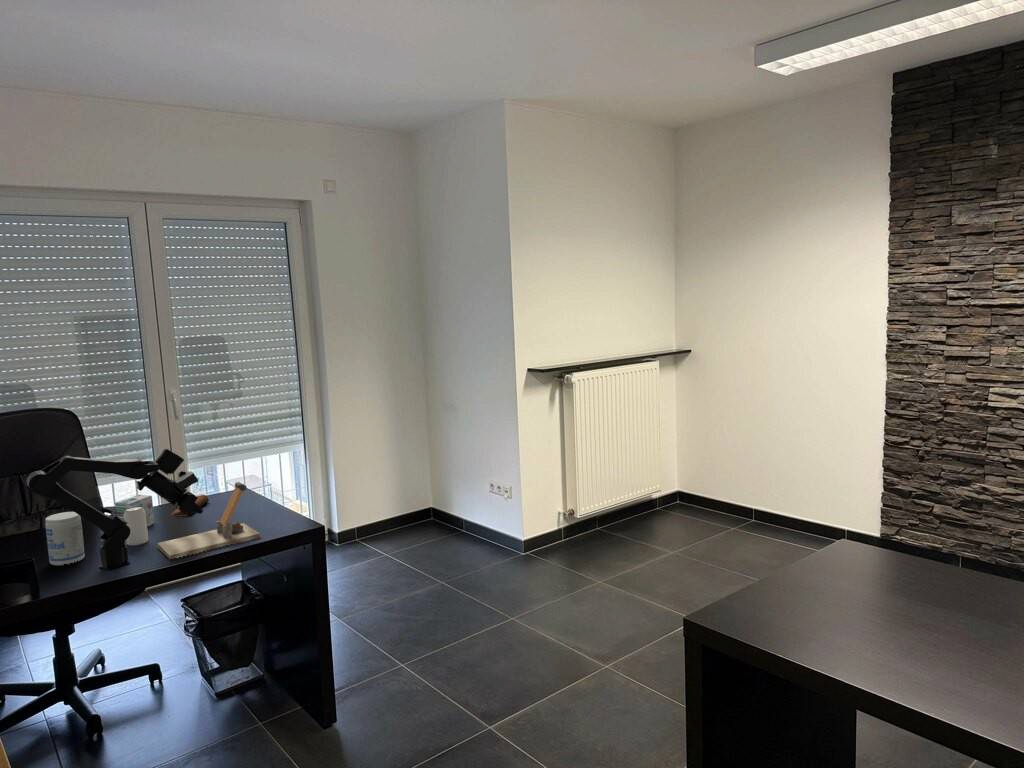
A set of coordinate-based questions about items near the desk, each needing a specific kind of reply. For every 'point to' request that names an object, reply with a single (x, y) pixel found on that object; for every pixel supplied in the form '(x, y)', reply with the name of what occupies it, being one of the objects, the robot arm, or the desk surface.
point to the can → (136, 525)
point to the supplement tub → (64, 538)
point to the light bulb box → (137, 501)
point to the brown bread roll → (200, 501)
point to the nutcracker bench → (208, 540)
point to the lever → (232, 503)
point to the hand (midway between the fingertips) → (201, 512)
